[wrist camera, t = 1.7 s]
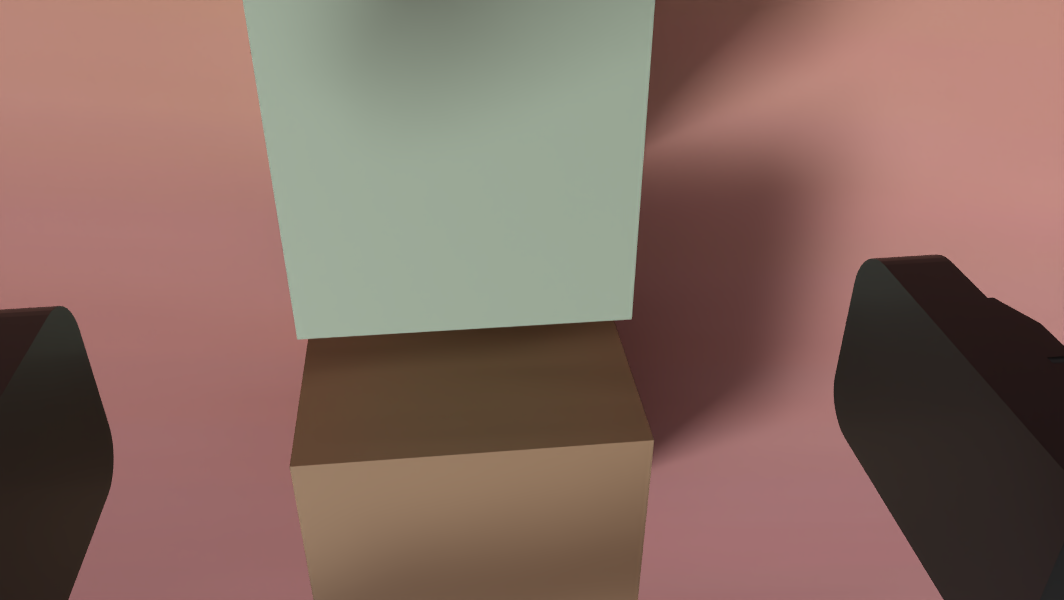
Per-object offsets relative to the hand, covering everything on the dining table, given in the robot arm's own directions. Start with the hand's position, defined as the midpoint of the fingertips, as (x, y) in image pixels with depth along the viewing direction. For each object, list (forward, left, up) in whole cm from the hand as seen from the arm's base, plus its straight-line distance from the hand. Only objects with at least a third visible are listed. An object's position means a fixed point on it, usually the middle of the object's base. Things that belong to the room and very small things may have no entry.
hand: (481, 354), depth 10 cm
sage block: (0, 0, -9) cm, 9 cm away
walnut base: (+8, 0, -9) cm, 12 cm away
